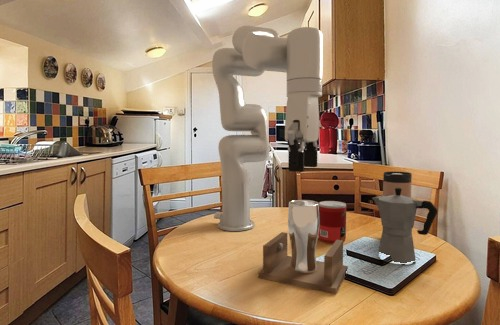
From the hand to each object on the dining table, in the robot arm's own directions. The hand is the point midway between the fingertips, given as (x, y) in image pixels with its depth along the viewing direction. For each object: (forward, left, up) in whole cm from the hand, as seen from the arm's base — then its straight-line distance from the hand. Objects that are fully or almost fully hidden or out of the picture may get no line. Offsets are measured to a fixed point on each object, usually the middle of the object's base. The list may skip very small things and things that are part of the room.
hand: (303, 168), depth 70 cm
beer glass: (0, 0, -23) cm, 23 cm away
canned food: (0, +27, -24) cm, 36 cm away
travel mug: (+17, +35, -24) cm, 46 cm away
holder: (0, 0, -24) cm, 24 cm away
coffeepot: (+19, +19, -24) cm, 36 cm away
